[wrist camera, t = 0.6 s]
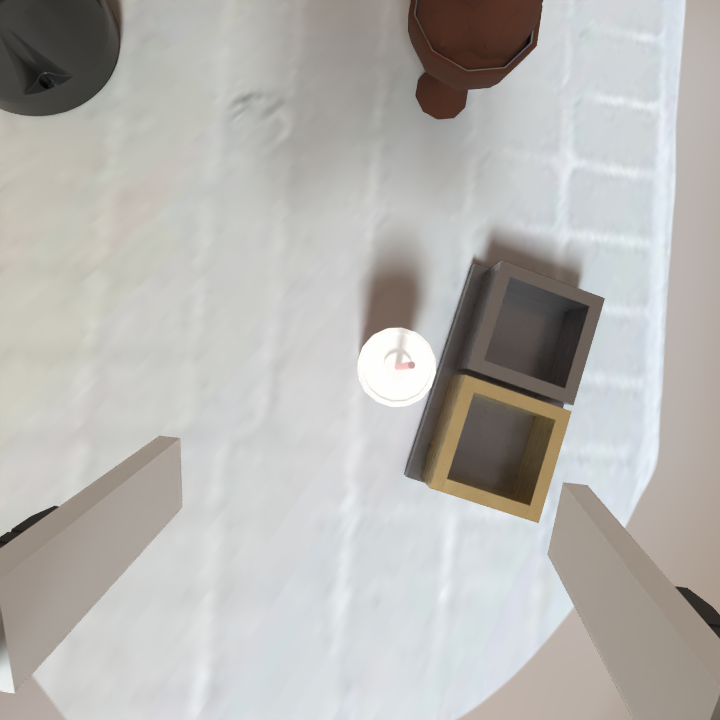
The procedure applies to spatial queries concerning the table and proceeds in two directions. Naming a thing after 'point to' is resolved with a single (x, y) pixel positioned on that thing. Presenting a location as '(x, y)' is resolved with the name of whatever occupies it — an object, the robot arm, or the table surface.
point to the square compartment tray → (505, 389)
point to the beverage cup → (396, 367)
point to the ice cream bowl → (468, 46)
